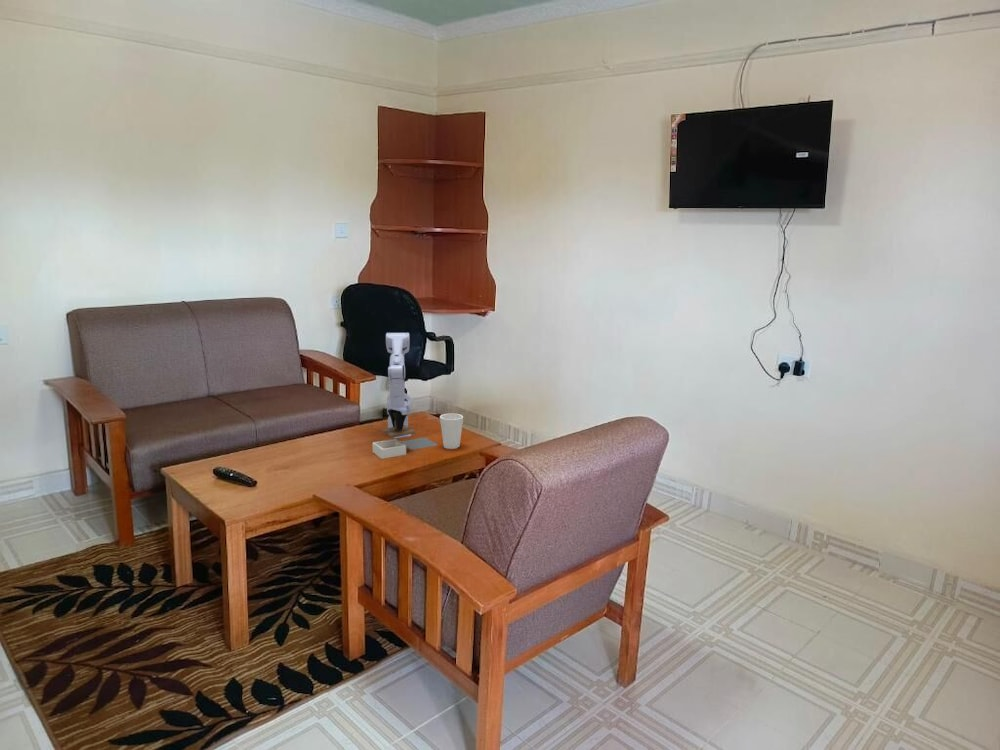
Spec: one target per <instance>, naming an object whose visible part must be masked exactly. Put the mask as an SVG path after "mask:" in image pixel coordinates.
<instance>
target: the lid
mask: <svg viewBox="0 0 1000 750" xmlns="http://www.w3.org/2000/svg"><path fill="white" fill-rule="evenodd" d="M394 424H395V428H394V427H392V428H388V427H387V428H383V429H382V432H383V433H384V434H386V435H387V436H389V437H390V438H393V439H396V438H395V437H399V436H404V435H409V434H411V435H412V434H413V435H414V434H416V431H415V430H414V429H413V428H410V427H409V426H408V427H407V426H405V425H403V429H401V430H397V428H396V421H395V420H394Z"/></svg>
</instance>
